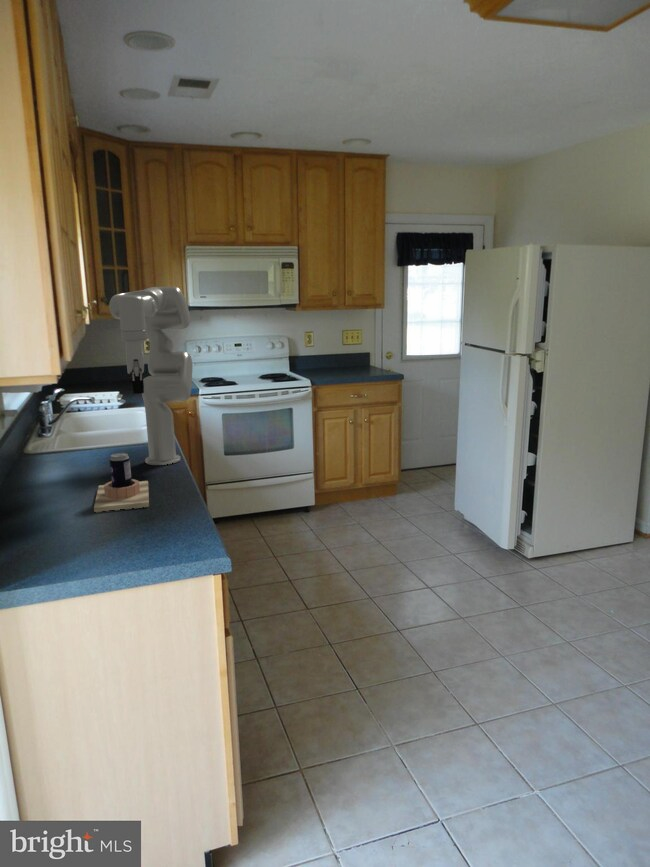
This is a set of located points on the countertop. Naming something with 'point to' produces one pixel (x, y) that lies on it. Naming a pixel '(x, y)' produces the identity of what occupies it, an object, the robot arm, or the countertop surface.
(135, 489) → the segmented ring
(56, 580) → the countertop surface
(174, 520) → the countertop surface
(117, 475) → the beverage can
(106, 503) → the base board
